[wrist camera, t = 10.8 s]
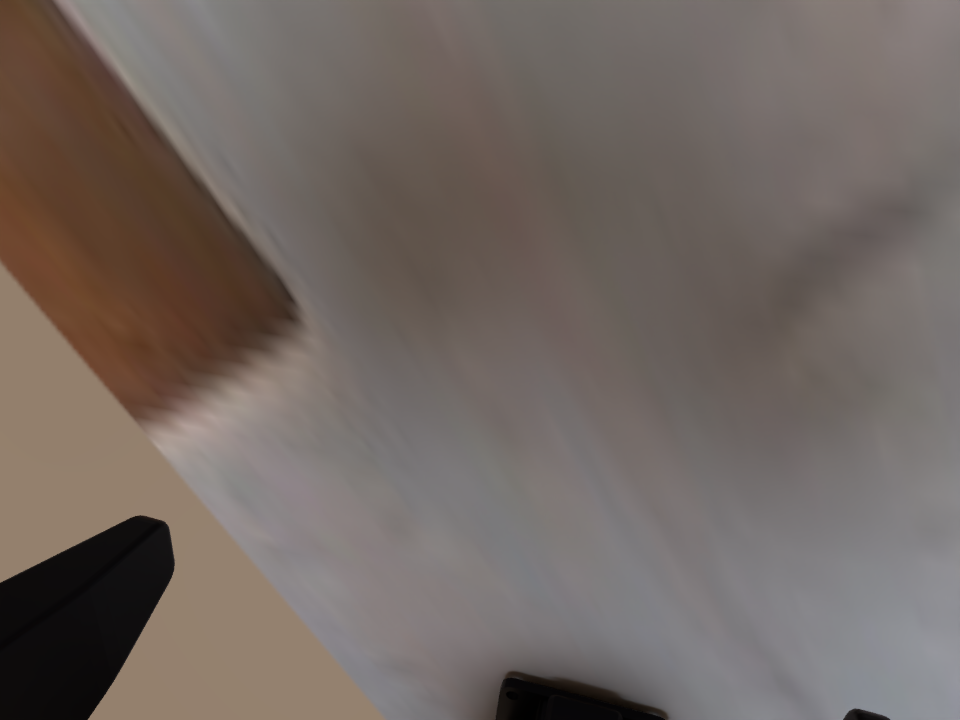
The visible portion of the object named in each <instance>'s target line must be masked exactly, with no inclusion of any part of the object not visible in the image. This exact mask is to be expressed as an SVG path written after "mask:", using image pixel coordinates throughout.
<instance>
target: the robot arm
mask: <svg viewBox="0 0 960 720" xmlns="http://www.w3.org/2000/svg"><path fill="white" fill-rule="evenodd" d="M174 566H175V562H174V555H173V548H172V542H171V536H170V530H169V527H168V525H167V524H166V522H164V521H162V520H158V519H154V518H150V517H147V516H141V515H140V516H135V517H132V518H130V519H128V520H126V521H124V522H121V523H119V524H117V525H116V526H113V527H111V528H110V529H108V530H106V531H104V532H101V533H99V534H97V535H95V536H94V537H92V538H89V539H88V540H85V541H83V542H81V543H79V544H77V545H76V546H73V547H71V548H69V549H67V550H65V551H63V552H61V553H59V554H57V555H55V556H53V557H51V558H49V559H47V560H45V561H43V562H41V563H39V564H37V565H35V566H33V567H31V568H29V569H27V570H25V571H23V572H21V573H19V574H17V575H15V576H13V577H11V578H9V579H7V580H5V581H3V582H1V583H0V720H88V718H89V717H90V715H91V714H92V713H93V711H94V710H95V708H96V707H97V705H98V704H99V702H100V701H101V700H102V698H103V697H104V695H105V694H106V692H107V691H108V689H109V688H110V686H111V685H112V683H113V682H114V680H115V678H116V676H117V675H118V673H119V671H120V670H121V668H122V666H123V665H124V663H125V661H126V659H127V657H128V656H129V654H130V652H131V650H132V649H133V647H134V645H135V643H136V641H137V640H138V638H139V636H140V634H141V632H142V630H143V629H144V627H145V625H146V623H147V621H148V620H149V618H150V616H151V614H152V613H153V611H154V609H155V607H156V605H157V604H158V602H159V600H160V598H161V596H162V594H163V593H164V591H165V589H166V587H167V586H168V584H169V582H170V579H171V578H172V575H173V572H174ZM496 720H665V719H664V718H661V717H659V716H655V715H651V714H647V713H644V712H640V711H636V710H632V709H629V708H625V707H621V706H617V705H613V704H610V703H606V702H602V701H598V700H595V699H591V698H587V697H583V696H579V695H576V694H572V693H568V692H564V691H561V690H557V689H553V688H549V687H546V686H542V685H538V684H534V683H530V682H527V681H523V680H519V679H515V678H507V679H505V680H503V682H502V685H501V690H500V695H499V701H498V707H497V714H496ZM843 720H890V719H889V718H887V717H885V716H883V715H880V714H876V713H872V712H868V711H865V710H861V709H852V710H850V711H849V712H848V713H847V714H846V716H845V718H844V719H843Z"/></svg>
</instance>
